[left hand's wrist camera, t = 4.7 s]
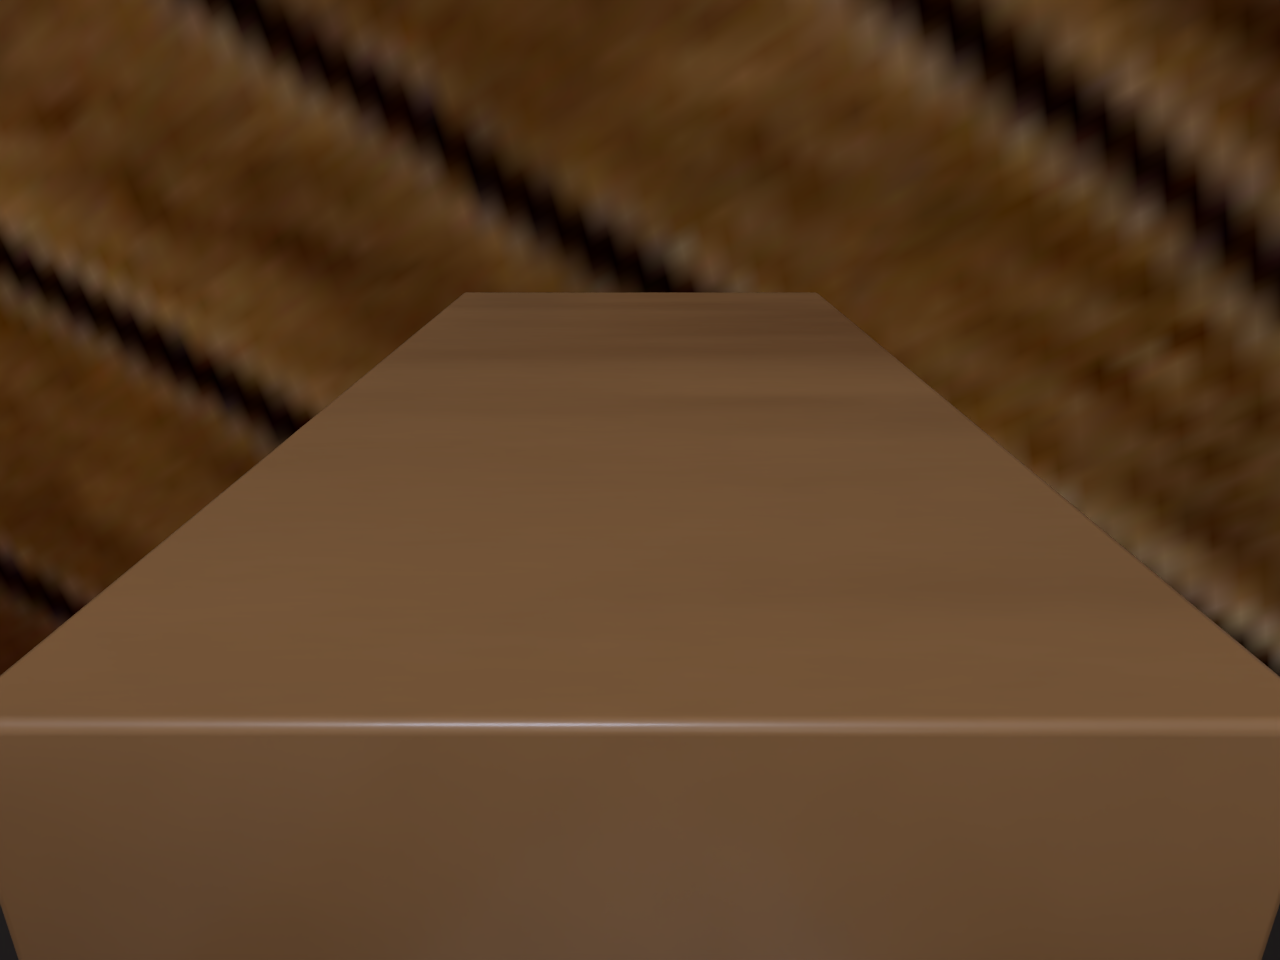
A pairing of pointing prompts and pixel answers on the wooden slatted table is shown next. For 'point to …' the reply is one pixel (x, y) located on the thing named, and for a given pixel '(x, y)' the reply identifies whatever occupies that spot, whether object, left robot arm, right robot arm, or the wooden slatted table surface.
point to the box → (639, 680)
